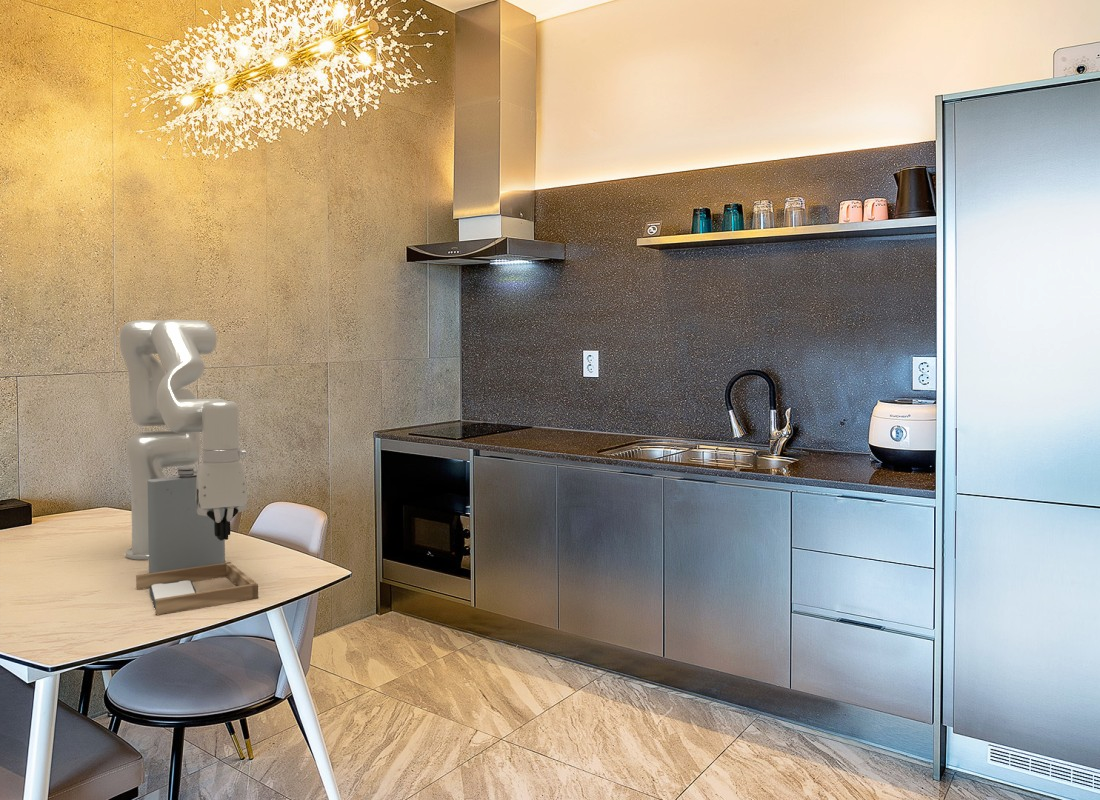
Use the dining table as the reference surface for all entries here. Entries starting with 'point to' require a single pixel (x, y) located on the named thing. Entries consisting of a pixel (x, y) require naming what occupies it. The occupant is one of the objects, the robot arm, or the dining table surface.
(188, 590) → the smartphone
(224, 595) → the wooden u-shaped frame
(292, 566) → the dining table surface
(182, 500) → the upright grey panel
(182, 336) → the robot arm
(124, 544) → the dining table surface
